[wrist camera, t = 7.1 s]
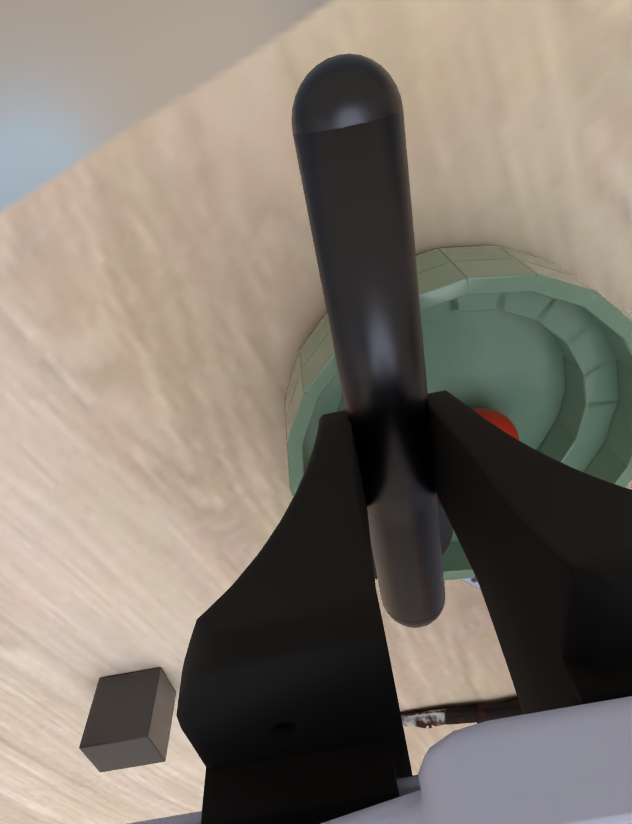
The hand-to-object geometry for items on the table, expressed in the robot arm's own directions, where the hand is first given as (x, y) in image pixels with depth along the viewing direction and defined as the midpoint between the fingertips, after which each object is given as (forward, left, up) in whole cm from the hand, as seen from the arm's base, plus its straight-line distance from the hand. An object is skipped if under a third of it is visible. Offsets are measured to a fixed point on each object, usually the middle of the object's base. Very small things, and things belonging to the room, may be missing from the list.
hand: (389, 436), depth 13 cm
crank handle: (0, +1, -4) cm, 4 cm away
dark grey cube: (-4, +28, -10) cm, 30 cm away
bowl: (-7, +2, -10) cm, 12 cm away
